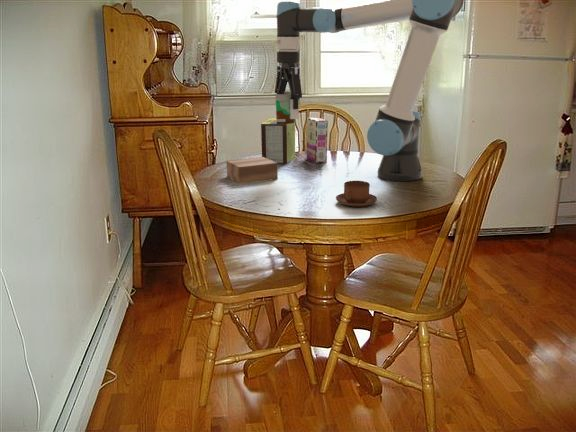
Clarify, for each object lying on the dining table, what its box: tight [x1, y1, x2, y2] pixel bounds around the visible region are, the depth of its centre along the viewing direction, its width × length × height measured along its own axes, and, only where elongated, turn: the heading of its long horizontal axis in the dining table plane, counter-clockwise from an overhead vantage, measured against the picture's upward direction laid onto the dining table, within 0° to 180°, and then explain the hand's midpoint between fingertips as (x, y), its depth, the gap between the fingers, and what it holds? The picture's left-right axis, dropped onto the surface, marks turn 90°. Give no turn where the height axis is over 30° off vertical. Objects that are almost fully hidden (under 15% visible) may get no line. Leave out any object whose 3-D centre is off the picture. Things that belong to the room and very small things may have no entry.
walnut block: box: [226, 156, 279, 185], centre depth 199 cm, size 12×14×6 cm
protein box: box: [260, 117, 296, 165], centre depth 228 cm, size 10×15×16 cm
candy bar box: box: [306, 117, 328, 164], centre depth 226 cm, size 11×5×16 cm, turn 17°
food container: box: [275, 90, 296, 124], centre depth 197 cm, size 12×6×10 cm, turn 165°
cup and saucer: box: [335, 180, 378, 208], centre depth 167 cm, size 12×12×6 cm
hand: (287, 116), depth 199 cm, fingers closed on food container, 11 cm apart
